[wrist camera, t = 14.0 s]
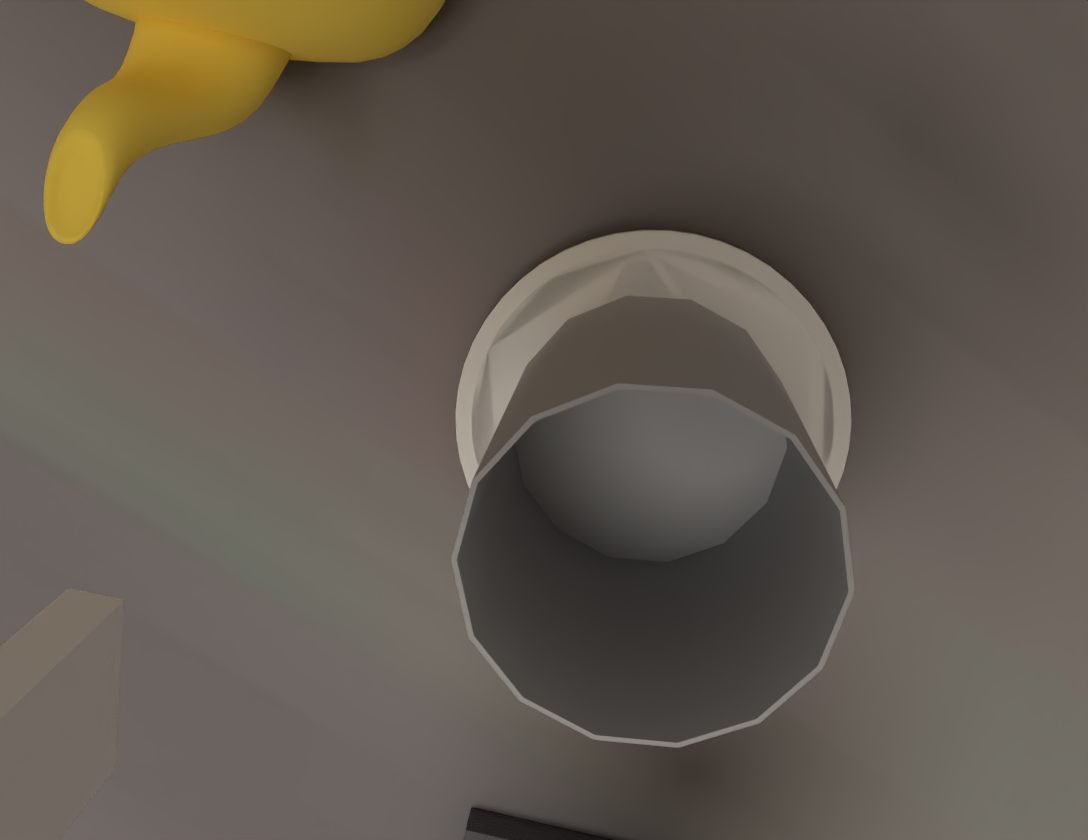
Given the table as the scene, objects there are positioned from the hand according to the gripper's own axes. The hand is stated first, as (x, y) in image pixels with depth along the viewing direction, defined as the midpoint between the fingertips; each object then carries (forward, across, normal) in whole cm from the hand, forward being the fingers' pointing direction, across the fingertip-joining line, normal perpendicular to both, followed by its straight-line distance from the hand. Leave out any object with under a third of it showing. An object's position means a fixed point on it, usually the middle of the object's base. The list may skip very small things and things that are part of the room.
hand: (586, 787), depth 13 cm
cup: (+18, +1, -1) cm, 18 cm away
